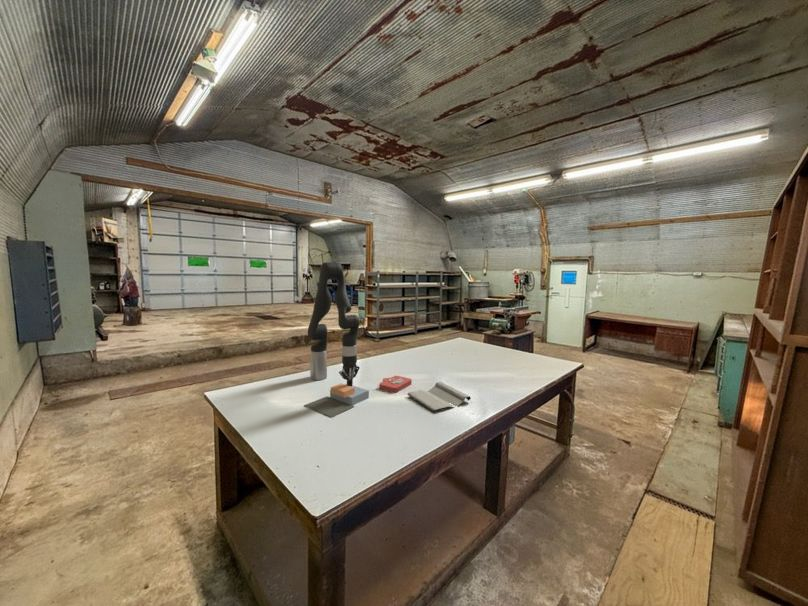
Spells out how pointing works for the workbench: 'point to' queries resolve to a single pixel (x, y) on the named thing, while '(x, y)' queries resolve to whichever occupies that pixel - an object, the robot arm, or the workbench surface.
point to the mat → (439, 397)
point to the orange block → (342, 390)
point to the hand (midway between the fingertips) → (349, 386)
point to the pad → (329, 406)
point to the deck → (353, 396)
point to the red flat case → (395, 384)
